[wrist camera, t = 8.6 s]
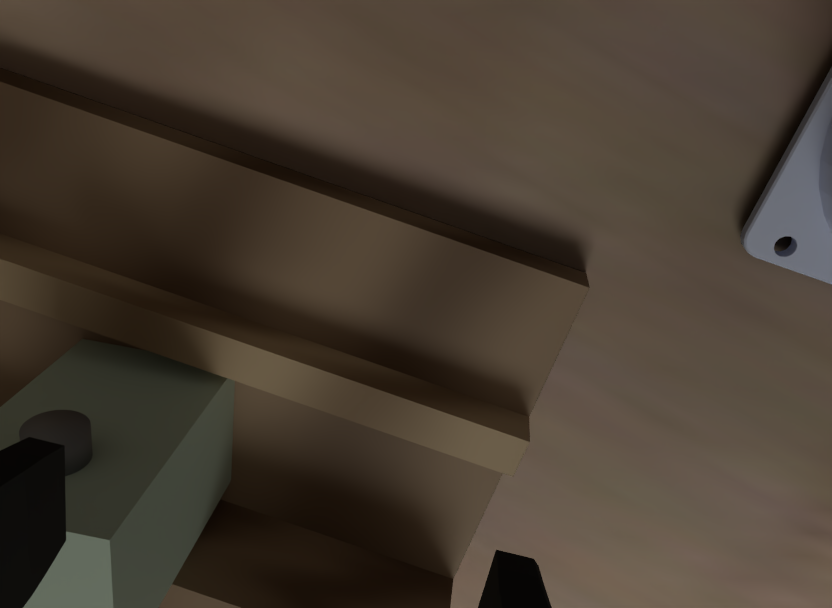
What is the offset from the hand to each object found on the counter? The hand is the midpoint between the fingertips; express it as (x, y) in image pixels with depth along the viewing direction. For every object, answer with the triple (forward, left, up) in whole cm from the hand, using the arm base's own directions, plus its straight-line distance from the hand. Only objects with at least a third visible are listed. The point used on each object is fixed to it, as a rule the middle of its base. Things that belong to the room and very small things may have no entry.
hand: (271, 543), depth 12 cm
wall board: (+5, +3, -9) cm, 11 cm away
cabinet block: (+5, +5, -8) cm, 11 cm away
